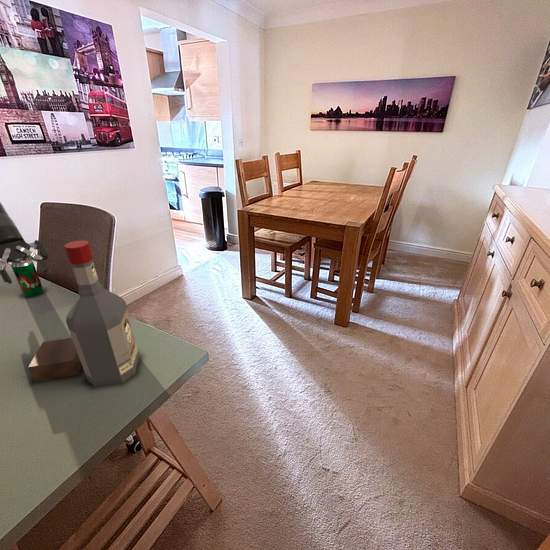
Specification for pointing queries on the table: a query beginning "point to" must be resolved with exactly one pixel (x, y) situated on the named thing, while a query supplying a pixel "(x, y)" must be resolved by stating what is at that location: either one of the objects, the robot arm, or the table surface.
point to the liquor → (99, 324)
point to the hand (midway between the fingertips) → (28, 277)
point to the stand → (55, 360)
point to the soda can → (27, 277)
